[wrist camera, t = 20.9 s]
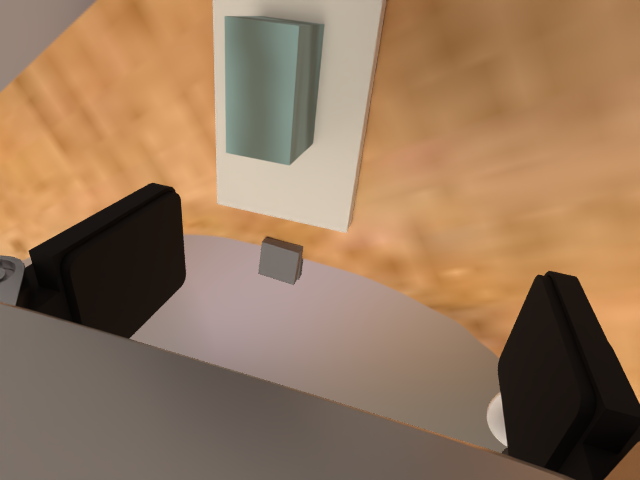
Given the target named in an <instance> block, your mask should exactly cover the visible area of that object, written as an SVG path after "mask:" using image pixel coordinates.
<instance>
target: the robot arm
mask: <svg viewBox="0 0 640 480" xmlns="http://www.w3.org/2000/svg"><path fill="white" fill-rule="evenodd" d="M29 254H30V257H31V260H32V264H31V265H29V266H27V267H26V268H25V265H24V263H23V262H22V261H21V260H20V259H17V258H15V257H11V256H0V480H640V404H639V402H638V400H637V398H636V395H635V393H634V391H633V389H632V387H631V385H630V383H629V381H628V379H627V377H626V375H625V373H624V371H623V369H622V367H621V364H620V362H619V360H618V358H617V356H616V354H615V352H614V350H613V348H612V346H611V345H610V344H609V342H608V341H607V338H606V336H605V334H604V332H603V330H602V328H601V326H600V324H599V322H598V320H597V318H596V316H595V313H594V311H593V309H592V307H591V305H590V303H589V301H588V299H587V297H586V295H585V293H584V290H583V288H582V286H581V284H580V282H579V280H578V278H577V277H575V276H571V275H566V274H562V273H557V272H553V271H548V272H547V273H546V274H545V275H544V276H543V275H537V276H536V278H535V279H534V281H533V284H532V286H531V288H530V290H529V293H528V295H527V297H526V300H525V302H524V304H523V306H522V309H521V311H520V313H519V315H518V318H517V320H516V322H515V324H514V327H513V329H512V331H511V334H510V336H509V338H508V340H507V343H506V345H505V347H504V349H503V352H502V354H501V356H500V359H499V363H498V377H499V385H500V392H501V400H502V408H503V416H504V423H505V431H506V439H507V447H508V454H509V456H508V455H505V454H502V453H499V452H496V451H493V450H490V449H487V448H483V447H480V446H477V445H474V444H471V443H467V442H464V441H461V440H458V439H455V438H451V437H448V436H445V435H442V434H439V433H436V432H432V431H429V430H426V429H423V428H419V427H416V426H413V425H410V424H407V423H403V422H400V421H396V420H393V419H390V418H387V417H384V416H380V415H377V414H374V413H371V412H368V411H364V410H361V409H358V408H355V407H352V406H348V405H345V404H342V403H339V402H336V401H332V400H329V399H326V398H322V397H319V396H316V395H313V394H310V393H306V392H303V391H300V390H297V389H293V388H290V387H287V386H283V385H280V384H277V383H273V382H270V381H267V380H264V379H260V378H257V377H254V376H251V375H247V374H244V373H241V372H238V371H234V370H231V369H227V368H224V367H221V366H218V365H214V364H211V363H208V362H205V361H201V360H198V359H195V358H191V357H188V356H185V355H181V354H178V353H175V352H171V351H168V350H165V349H161V348H158V347H154V346H151V345H148V344H144V343H141V342H137V341H134V340H131V339H129V338H130V337H131V336H132V335H133V334H134V333H135V332H136V331H137V330H138V329H139V328H140V327H141V326H142V325H143V324H144V323H145V322H146V321H147V320H148V319H149V318H150V317H151V316H152V315H153V314H154V313H155V312H156V311H157V310H158V309H159V308H160V307H161V306H162V305H163V304H164V303H165V302H166V301H167V300H168V299H169V298H170V297H171V296H172V295H173V294H174V293H175V292H176V291H177V290H178V289H179V288H180V287H181V286H182V285H183V283H184V281H185V277H186V269H185V255H184V240H183V225H182V211H181V199H180V196H179V195H178V194H177V193H176V192H175V189H174V188H173V187H169V186H164V185H160V184H155V183H150V184H148V185H146V186H145V187H143V188H141V189H139V190H137V191H136V192H134V193H132V194H130V195H128V196H127V197H125V198H123V199H121V200H119V201H118V202H116V203H114V204H112V205H110V206H108V207H107V208H105V209H103V210H101V211H99V212H98V213H96V214H94V215H92V216H90V217H89V218H87V219H85V220H83V221H81V222H80V223H78V224H76V225H74V226H72V227H71V228H69V229H67V230H65V231H63V232H62V233H60V234H58V235H56V236H54V237H53V238H51V239H49V240H47V241H45V242H43V243H42V244H40V245H38V246H36V247H34V248H33V249H31V250H29Z"/></svg>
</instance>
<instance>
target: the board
mask: <svg viewBox="0 0 640 480" xmlns="http://www.w3.org/2000/svg"><path fill="white" fill-rule="evenodd" d="M386 1H387V0H213V31H214V76H215V122H216V167H217V204H220V205H224V206H229V207H233V208H238V209H242V210H246V211H251V212H255V213H260V214H264V215H269V216H273V217H278V218H282V219H286V220H291V221H295V222H300V223H304V224H309V225H313V226H318V227H322V228H326V229H331V230H335V231H340V232H344V233H347V231H348V229H349V227H350V225H351V221H352V215H353V208H354V202H355V196H356V190H357V183H358V177H359V171H360V164H361V158H362V152H363V146H364V139H365V133H366V127H367V120H368V114H369V108H370V102H371V95H372V89H373V83H374V76H375V70H376V64H377V58H378V51H379V45H380V39H381V32H382V26H383V20H384V13H385V7H386ZM225 16H265V17H272V18H280V19H288V20H295V21H303V22H311V23H318V24H325V26H324V36H323V46H322V57H321V67H320V77H319V87H318V98H317V108H316V118H315V129H314V139H313V144H312V145H311V146H310V147H309V148H308V149H307V150H306V151H305V152H304V153H303V154H301V155H300V156H299V157H298V158H297V159H296V160H295V161H294V162H293V163H292V164H291V165H284V164H279V163H274V162H269V161H264V160H259V159H254V158H249V157H244V156H239V155H234V154H229V153H226V112H225Z"/></svg>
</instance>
